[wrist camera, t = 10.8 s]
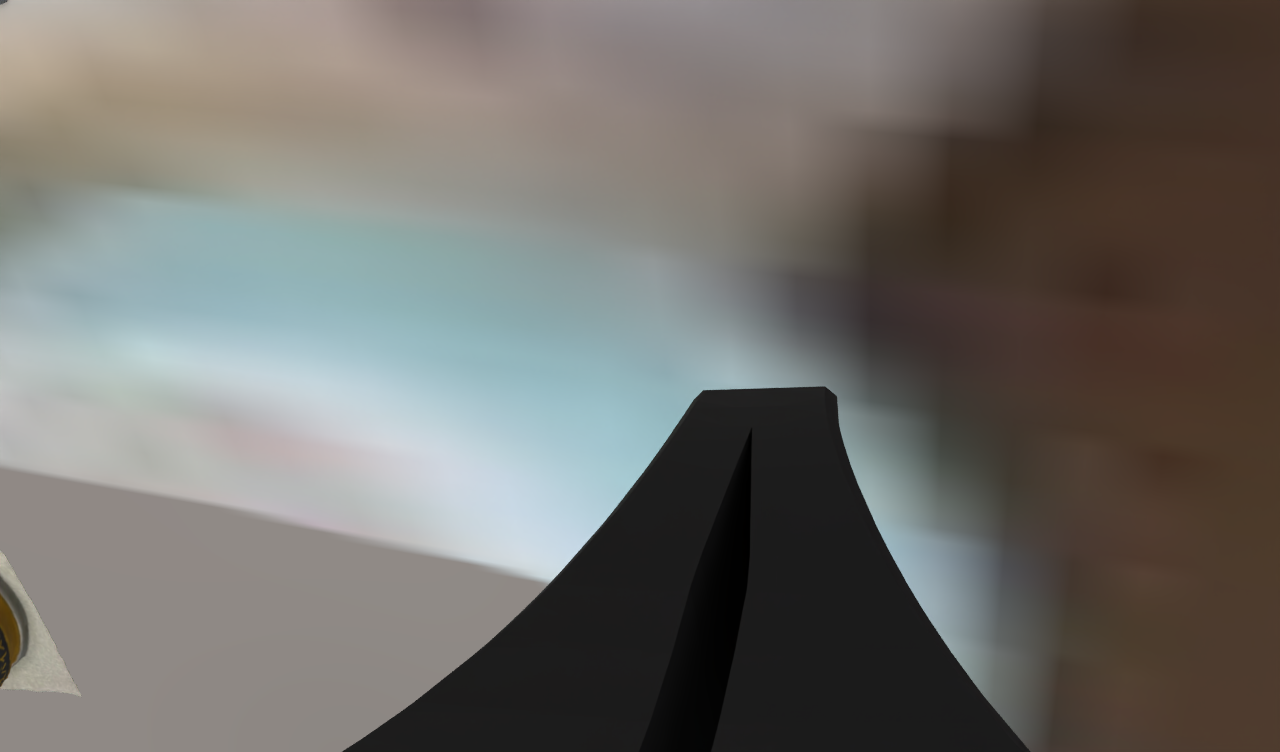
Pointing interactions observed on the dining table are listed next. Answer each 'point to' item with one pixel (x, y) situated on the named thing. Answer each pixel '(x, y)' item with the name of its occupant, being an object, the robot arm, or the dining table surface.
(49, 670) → the condiment
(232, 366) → the dining table surface
